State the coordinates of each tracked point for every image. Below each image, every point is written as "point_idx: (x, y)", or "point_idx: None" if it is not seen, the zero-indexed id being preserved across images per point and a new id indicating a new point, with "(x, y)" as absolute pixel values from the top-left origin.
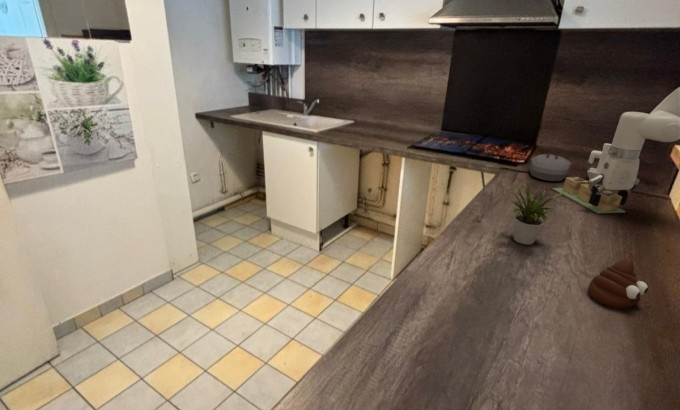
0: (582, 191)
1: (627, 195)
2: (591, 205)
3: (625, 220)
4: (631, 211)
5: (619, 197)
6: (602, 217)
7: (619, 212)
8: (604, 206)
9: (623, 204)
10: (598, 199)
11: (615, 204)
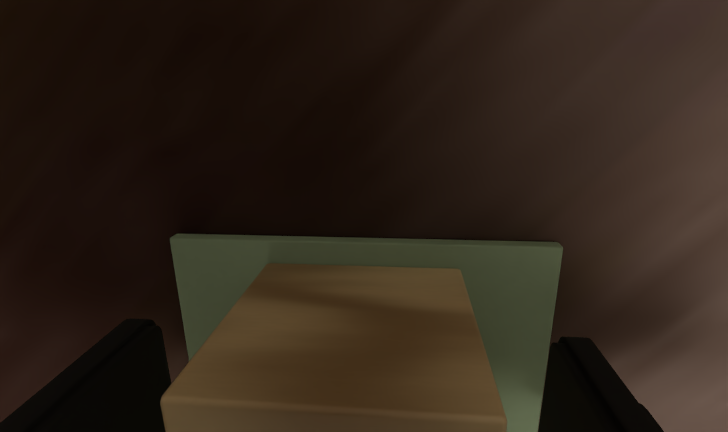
0: None
1: (5, 430)
2: None
3: (361, 11)
4: (84, 250)
5: (225, 390)
6: (604, 132)
7: (253, 236)
8: (471, 308)
9: (143, 321)
10: (648, 421)
11: (300, 308)
